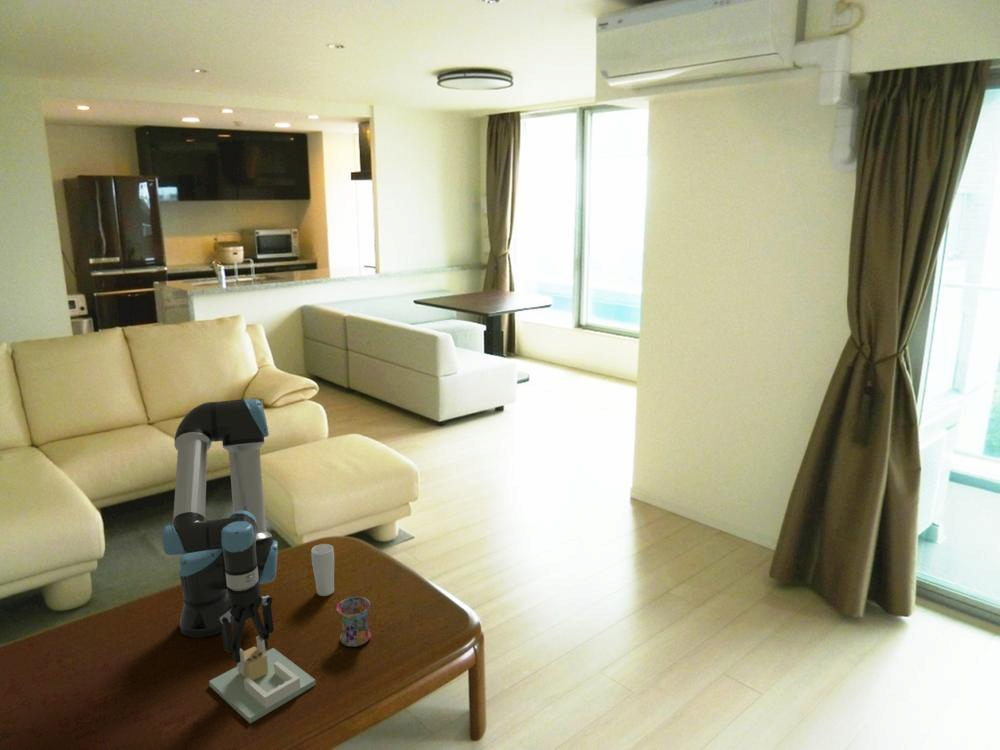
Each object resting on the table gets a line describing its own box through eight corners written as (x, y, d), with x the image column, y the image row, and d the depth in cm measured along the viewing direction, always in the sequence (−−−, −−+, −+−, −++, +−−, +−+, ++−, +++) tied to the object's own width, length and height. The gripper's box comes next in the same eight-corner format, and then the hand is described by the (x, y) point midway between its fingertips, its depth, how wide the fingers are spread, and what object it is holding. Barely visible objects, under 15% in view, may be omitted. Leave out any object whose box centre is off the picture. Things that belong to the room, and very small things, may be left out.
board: (209, 686, 177) (207, 670, 176) (273, 652, 190) (272, 638, 189) (250, 723, 164) (248, 707, 163) (315, 684, 177) (314, 669, 176)
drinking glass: (338, 586, 223) (335, 543, 219) (334, 597, 216) (331, 553, 213) (317, 586, 223) (313, 543, 219) (312, 598, 216) (308, 554, 212)
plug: (238, 672, 179) (236, 654, 178) (256, 663, 183) (254, 645, 182) (249, 682, 175) (248, 663, 174) (268, 672, 179) (266, 654, 178)
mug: (373, 646, 192) (371, 612, 190) (339, 652, 190) (336, 617, 187) (370, 622, 203) (368, 589, 201) (338, 627, 201) (335, 594, 199)
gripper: (215, 604, 165) (225, 690, 170) (283, 574, 178) (291, 655, 183) (200, 593, 170) (211, 677, 175) (268, 565, 183) (276, 644, 188)
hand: (252, 665), depth 179 cm, fingers closed on plug, 5 cm apart
